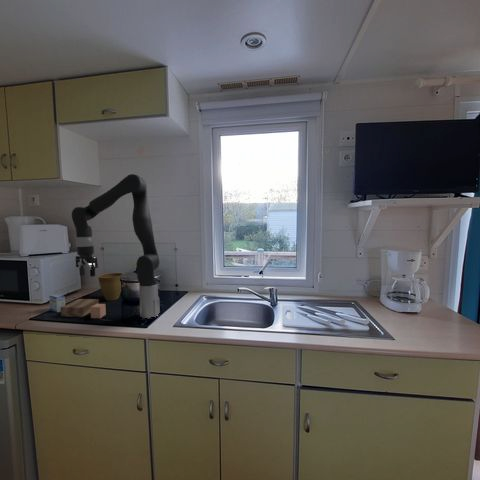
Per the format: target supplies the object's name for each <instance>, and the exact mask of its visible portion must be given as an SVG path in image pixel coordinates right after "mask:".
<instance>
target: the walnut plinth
mask: <svg viewBox="0 0 480 480" xmlns="http://www.w3.org/2000/svg"><path fill="white" fill-rule="evenodd" d="M99 301H100V300H99V299H98V298H93V299H92V298H78V299H76V300H73V301H71V302H69V303H67V304H65V306H62V307H61V312H60V317H70V318H71V317H75V318H79V317H81V318H83V317H85V316H86V315H87V316H88V314H91V307H92V306H93V305H95V304H100V303H99Z"/></svg>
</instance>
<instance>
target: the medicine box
mask: <svg viewBox="0 0 480 480" xmlns="http://www.w3.org/2000/svg"><path fill="white" fill-rule="evenodd" d="M65 305H66V296H65V295H63V294H59V293H56V294H50V295H49V310H50V311H51V312H55V313H61V307H62V306H65Z"/></svg>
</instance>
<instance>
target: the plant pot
mask: <svg viewBox="0 0 480 480" xmlns="http://www.w3.org/2000/svg"><path fill="white" fill-rule="evenodd" d="M122 275H124V276H125V274H124V273H122V272H111V273H102V274H100V275H98V276H97V278H98V283H99V287H100V290H101V292H102V295H103V298H104V299H105V301H116V300H118V299H119V297H120V294H121V292H122V289H121V282H120V277H121V276H122Z"/></svg>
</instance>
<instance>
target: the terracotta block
mask: <svg viewBox="0 0 480 480" xmlns="http://www.w3.org/2000/svg"><path fill="white" fill-rule="evenodd" d="M106 309H107V308H106V303H99V304H95V305H93V306H92V307H91V312H90V319H101V318H103V317H104V316H106V315H107V312H106Z"/></svg>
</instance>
